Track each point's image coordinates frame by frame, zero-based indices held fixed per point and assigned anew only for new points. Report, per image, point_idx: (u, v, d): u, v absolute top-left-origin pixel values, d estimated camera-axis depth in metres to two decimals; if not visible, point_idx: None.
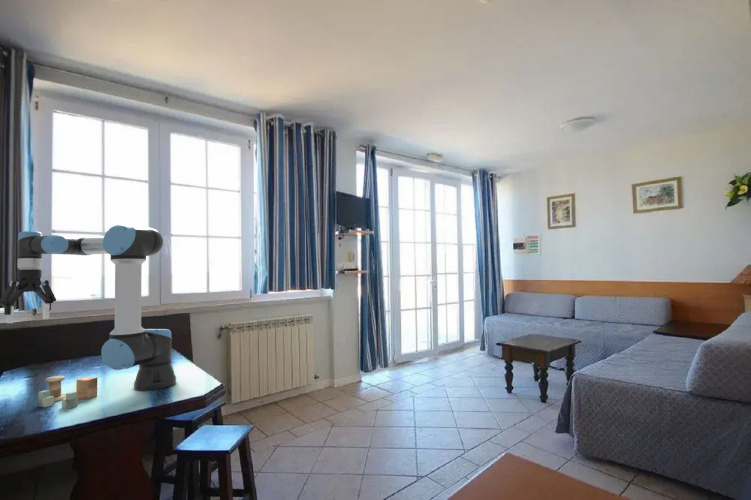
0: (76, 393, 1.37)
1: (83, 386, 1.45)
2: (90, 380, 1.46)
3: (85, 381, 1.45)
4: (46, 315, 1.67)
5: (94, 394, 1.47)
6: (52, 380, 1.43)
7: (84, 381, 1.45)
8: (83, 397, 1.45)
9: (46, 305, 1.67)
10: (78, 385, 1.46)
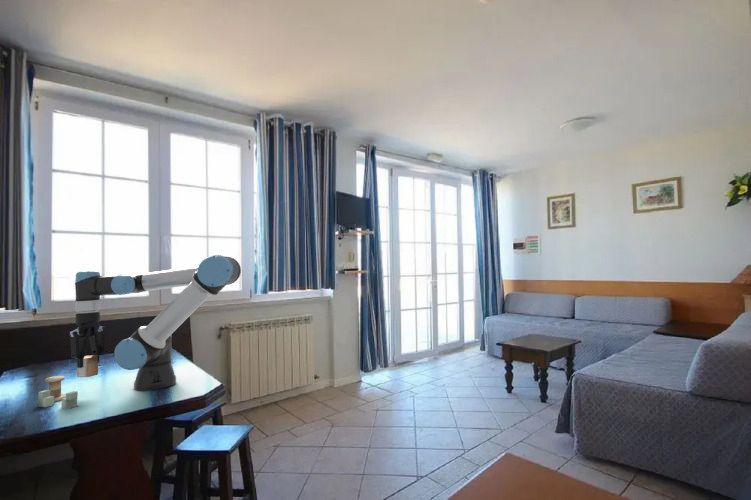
0: (76, 393, 1.37)
1: None
2: (91, 358, 1.46)
3: (86, 359, 1.46)
4: None
5: (95, 372, 1.48)
6: (52, 380, 1.43)
7: None
8: None
9: None
10: None
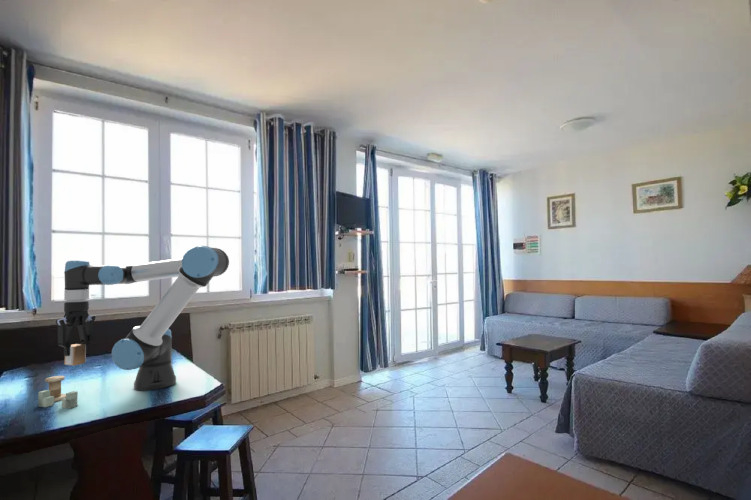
0: (76, 393, 1.37)
1: None
2: (77, 347, 1.48)
3: None
4: None
5: (82, 361, 1.49)
6: (52, 380, 1.43)
7: None
8: None
9: None
10: None
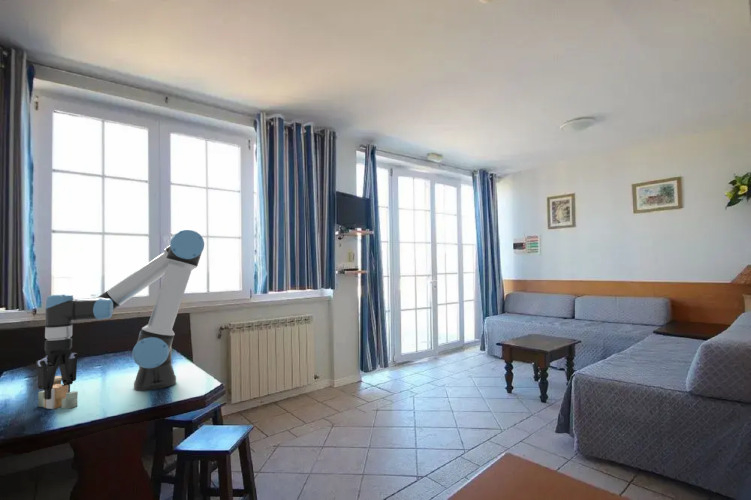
0: (76, 393, 1.37)
1: None
2: (59, 388, 1.37)
3: None
4: None
5: None
6: None
7: None
8: None
9: None
10: None
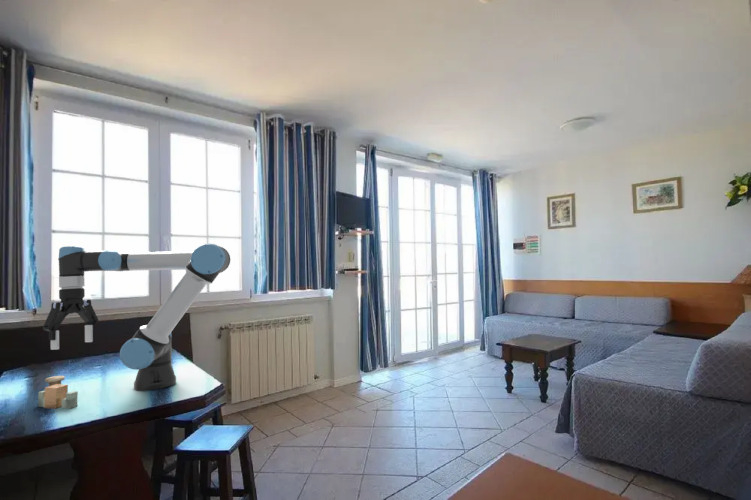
0: (76, 393, 1.37)
1: (51, 395, 1.36)
2: (59, 388, 1.37)
3: (54, 389, 1.36)
4: (89, 338, 1.51)
5: None
6: (52, 380, 1.43)
7: (53, 389, 1.36)
8: (52, 406, 1.35)
9: (89, 327, 1.52)
10: (46, 393, 1.36)
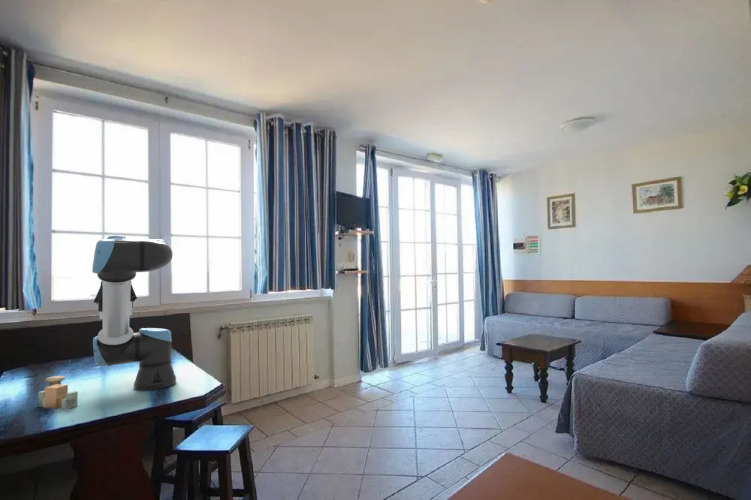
0: (76, 393, 1.37)
1: (51, 395, 1.36)
2: (59, 388, 1.37)
3: (54, 389, 1.36)
4: (129, 312, 1.83)
5: None
6: (52, 380, 1.43)
7: (53, 389, 1.36)
8: (52, 406, 1.35)
9: (129, 303, 1.83)
10: (46, 393, 1.36)
